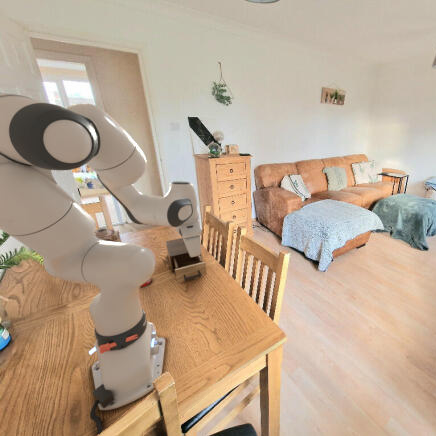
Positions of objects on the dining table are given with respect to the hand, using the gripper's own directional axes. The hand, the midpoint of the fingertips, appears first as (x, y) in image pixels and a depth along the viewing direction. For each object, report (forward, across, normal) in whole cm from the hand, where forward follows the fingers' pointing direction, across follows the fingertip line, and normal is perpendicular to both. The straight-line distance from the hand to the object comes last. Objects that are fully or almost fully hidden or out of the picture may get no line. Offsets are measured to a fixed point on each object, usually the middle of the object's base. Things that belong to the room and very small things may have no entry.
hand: (191, 255), depth 94 cm
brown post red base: (+18, -16, -19) cm, 31 cm away
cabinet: (+18, -27, 0) cm, 32 cm away
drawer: (+17, -13, 0) cm, 21 cm away
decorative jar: (+18, -41, -32) cm, 55 cm away
